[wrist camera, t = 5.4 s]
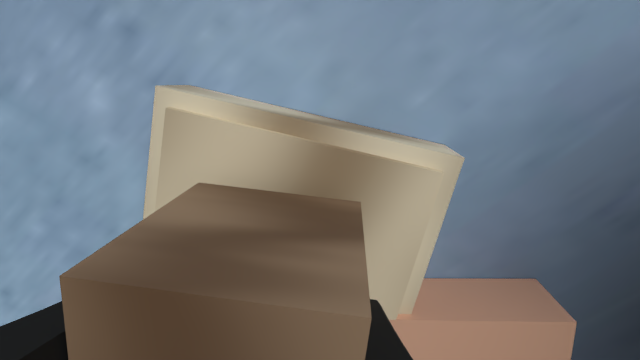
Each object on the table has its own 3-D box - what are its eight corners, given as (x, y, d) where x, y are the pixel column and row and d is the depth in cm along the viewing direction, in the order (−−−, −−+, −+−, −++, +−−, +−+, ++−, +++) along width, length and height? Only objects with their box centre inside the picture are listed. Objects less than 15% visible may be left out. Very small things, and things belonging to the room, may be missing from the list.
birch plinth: (444, 144, 12) (467, 160, 10) (375, 357, 15) (381, 411, 12) (188, 85, 12) (150, 85, 10) (162, 305, 15) (126, 349, 12)
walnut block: (360, 201, 10) (371, 318, 5) (341, 340, 11) (335, 542, 6) (198, 182, 10) (59, 275, 5) (197, 321, 11) (83, 500, 6)
